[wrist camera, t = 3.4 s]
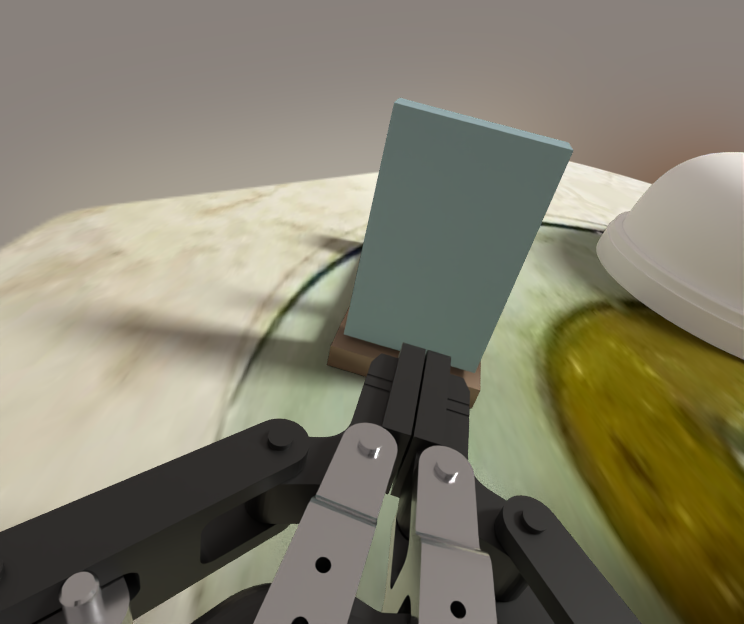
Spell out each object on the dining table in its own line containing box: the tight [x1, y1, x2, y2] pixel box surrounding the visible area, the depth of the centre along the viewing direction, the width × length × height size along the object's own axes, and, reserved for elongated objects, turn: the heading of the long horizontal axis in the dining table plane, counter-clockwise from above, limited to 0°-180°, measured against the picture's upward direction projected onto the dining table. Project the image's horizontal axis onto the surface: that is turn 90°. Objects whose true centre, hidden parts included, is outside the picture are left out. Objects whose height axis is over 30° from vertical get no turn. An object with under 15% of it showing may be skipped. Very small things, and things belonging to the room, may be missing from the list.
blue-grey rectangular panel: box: [344, 98, 573, 373], centre depth 26 cm, size 4×8×13 cm, turn 78°
